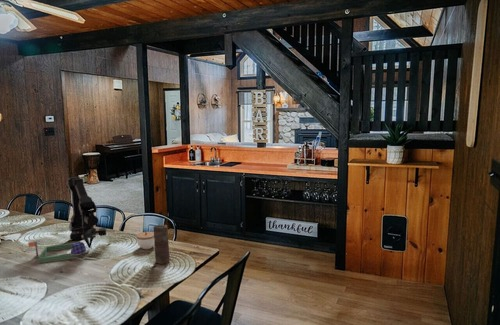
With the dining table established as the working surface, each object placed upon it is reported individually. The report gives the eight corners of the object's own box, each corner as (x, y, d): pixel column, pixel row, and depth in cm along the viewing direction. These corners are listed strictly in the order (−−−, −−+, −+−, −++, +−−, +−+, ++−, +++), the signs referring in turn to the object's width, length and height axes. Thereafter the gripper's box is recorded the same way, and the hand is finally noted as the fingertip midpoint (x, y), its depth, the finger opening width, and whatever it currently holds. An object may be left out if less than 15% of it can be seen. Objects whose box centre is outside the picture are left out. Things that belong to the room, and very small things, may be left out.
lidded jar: (158, 244, 208) (158, 229, 207) (152, 251, 198) (151, 235, 197) (141, 243, 209) (140, 228, 208) (134, 250, 199) (133, 234, 198)
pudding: (82, 246, 206) (81, 238, 205) (94, 250, 200) (93, 242, 199) (62, 253, 196) (61, 244, 195) (74, 258, 190) (74, 249, 189)
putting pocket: (74, 246, 205) (73, 232, 204) (71, 258, 188) (69, 242, 187) (33, 252, 197) (31, 237, 196) (26, 264, 181) (24, 248, 179)
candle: (152, 262, 182) (150, 226, 179) (161, 257, 189) (160, 222, 186) (163, 265, 179) (161, 228, 176) (172, 260, 185) (171, 224, 182)
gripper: (67, 228, 187) (70, 255, 189) (105, 223, 193) (106, 250, 196) (70, 222, 197) (72, 248, 199) (105, 218, 204) (107, 243, 206)
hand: (89, 247), depth 200 cm, fingers closed
